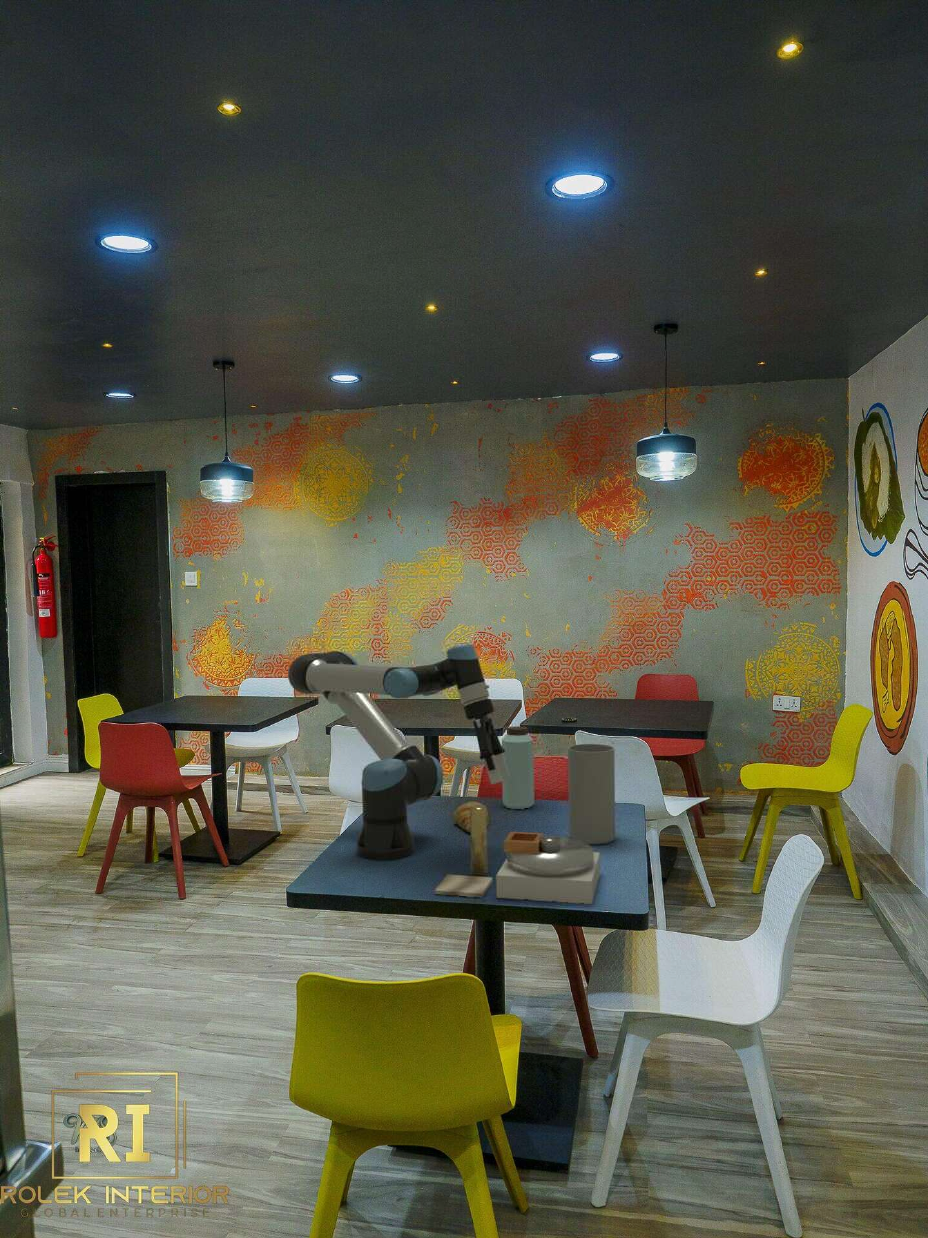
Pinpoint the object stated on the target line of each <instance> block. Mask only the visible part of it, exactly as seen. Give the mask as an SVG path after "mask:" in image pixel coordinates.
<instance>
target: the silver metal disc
mask: <svg viewBox="0 0 928 1238" xmlns="http://www.w3.org/2000/svg"><path fill="white" fill-rule="evenodd" d="M503 852H504V853H506V859H507V865H508V866H509V867H510V868H512V869H514V870H516V871H518V872H521V873H525V874H530V875H536V876H568V875H575V874H579V873H583V872H585V871H587V870H589V869H591V868H592V867H593V865H594V852H595V850H594V848H593V847H592V846H591V845H590V844H587V843H584V842H582V841H578V840H574V839H571V838H570V837H560V836H557V835H550V834H549V835H545V834H544V833H543V832H528V831H526V832H525V831H510V832H509V833H508V834H507V836H506V837H505V839H504V840H503Z"/></svg>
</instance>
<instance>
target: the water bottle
mask: <svg viewBox="0 0 928 1238" xmlns="http://www.w3.org/2000/svg"><path fill="white" fill-rule="evenodd" d="M501 746H502V748H503V749H505V752H504V753H503V756H504V759H505V762H506V765H507V769H508V772H509V775H510V777H509V778H506V779H502V781H501V785H502V791H501V793H502V804H503V805H504V807H505V806H506V807H505V808H507V809H508V808H510V809H509V810H515V809H522V810H525V809H524V808H528V809H530V808H532V807H533V805H534V804H535V785H534V784H535V771H534V770H535V767H534V765H535V764H534V759H535V758H534V739H533V738H532V737H531V735H530V734H529V728H528V727H526V726H515V725H514V726H509V727H506V735H504V737H503V738H502V739H501ZM531 806H532V807H531ZM529 807H530V808H529Z"/></svg>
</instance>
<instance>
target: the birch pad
mask: <svg viewBox="0 0 928 1238" xmlns="http://www.w3.org/2000/svg"><path fill="white" fill-rule="evenodd" d="M493 879H494V877H490V876H475V875H460V874H459V875H458V874H446V876H445V877H444V878H443V879H442V881H441V882H440V883H439V884H438V885H437V887H436V888H435V890H434V895H435V894H447V895H459V896H467V897H466V898H473V897H482V898H481V899H483V898H484V897H483V896H485V894H486V893H487V892H488V890H489V888H490V887H491V886H492V884H493V881H494V880H493ZM459 896H458V897H459Z"/></svg>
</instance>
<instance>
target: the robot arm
mask: <svg viewBox="0 0 928 1238" xmlns="http://www.w3.org/2000/svg"><path fill="white" fill-rule="evenodd" d="M446 655H447V656H446V657H447V658H445V659H444V660H439V661H438V662H436V663H431V664H426V665H417V666H412V667H411V666H409V667H408V666H407V667H403V666H400V667H399V666H381V665H363V664H362V665H361V664H360V665H359V663H358V661H357V659H356V658H355V657H354V656H353V655H351V654H350V653H349V652H347V651H346V652H345V651H338V650H331V651H328V652H318V653H316V652H315V653H306V654H302V655H300V656H298V657H297V658H295V659H294V660H293V661H292V662H291V664H290V665H289V667H288V671H287V678H288V682H289V684H290V686H291V687H292V689H294V690H295V691H296V692H298V693H299V694H303V695H320V694H322V695H323V697H324V698H325V699H326V700H327V701H328V703H329V704H331V705H337V706H338V707H339V708H340V709H341V711H342V712H343V713H344V714H345V716H346V717H347V719H348V720H349V721H350V723H351V724H352V725H353V726H354V728H355V729H356V730H357V732H358V733H359V734H360V735H361V737H362V738H363V739H364V740H365V742H366V743H367V745H369V747H370V748H371V749H372V751H373V752H374V753H375V754H376V756H377V757H378V758H379V760H375V761H373V762H370V763H368V764H367V765H366V766H364V768H363V769H362V773H361V775H362V776H361V777H362V779H361V797H362V798H361V800H362V803H361V804H362V825H361V829H360V831H359V836H358V838H357V843H356V854H357V856H359V857H361V858H364V859H367V860H368V859H369V860H375V861H376V860H377V861H387V860H397V859H401V858H405V857H407V856H410V855H412V854H413V853H414V852H415V840H414V838H413V835H412V834H413V833H412V832H411V829H410V825H409V823H408V822H409V821H408V806H411V805H413V804H416V803H419V802H422V801H426V800H427V801H428V800H429V799H431V798H432V797H434V796H436V795H437V794H438V793H439V792H440V790H441V789H442V787H443V783H444V771H443V767H442V764H441V763H440V761H439V759H437V758H436V756H435V757H434V756H433V755H430V754H423V752H422V751H421V750H420V749H419V747H417V745H415V744H408V743H407V742H406V740H405V739H404V738H403V737H402V735H401V734H400V732H398V730H397V729H396V728H395V727H394V726H393V724H392V723H391V721H390V720H389V719H388V718H387V717H386V715H385V714H384V713H383V711H382V710H381V709H380V708H379V707H378V706H377V704H376V703H375V701H373V699H372V698H371V697H370V696H369V695H379V696H380V695H383V696H390V697H391V698H393V699H407V698H411V697H416V696H421V695H422V696H425V697H428V696H432V695H437V694H438V693H439V692H442V691H444V690H447V689H450V688H452V687H456V688H457V692H458V694H459V698H460V702H461V704H462V705H464V706H463V711H464V714H465V717H466V719H467V720H468V721H469V720H473V721H472V723H473V726H474V730H475V735H476V739H477V744H478V749H479V760H481V761H482V760H483V762H484V765H485V769H486V771H487V774H488V778H489V782H490V784H491V786H492V785H494V784H498V783H502V779H506V778H509V777H510V775H509V772H508V769H507V765H506V762H505V759H504V756H503V753H504V752H505V749H503V748H502V743H501V741H500V739H499V737H498V734H497V731H496V729H495V727H494V726H495V725H494V724H493V719H492V718H491V717H488V715H490V714H493V713H494V712H495V709H494V705H493V701H492V699H490V698H489V697H490V693H489V690H488V689H489V688H490V685H489V684H486V681H485V678H484V674H483V671H482V667H481V663H480V660H479V659H480V658H479V656H478V654H477V651H476V649H475V647H474V644H472V643H468V642H465V643H462V644H458V645H455V646H452V647H450V648H448V649H447V650H446Z"/></svg>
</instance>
